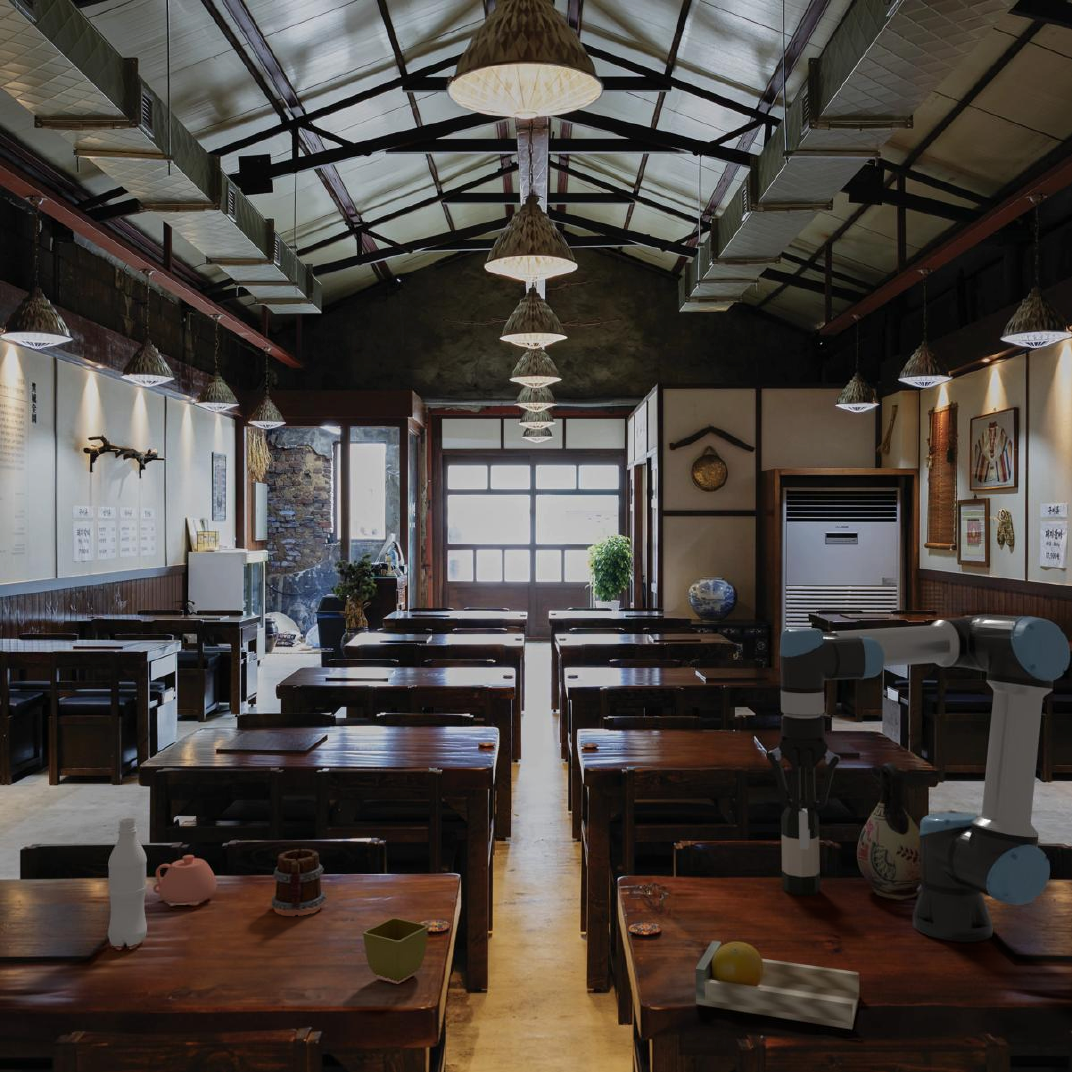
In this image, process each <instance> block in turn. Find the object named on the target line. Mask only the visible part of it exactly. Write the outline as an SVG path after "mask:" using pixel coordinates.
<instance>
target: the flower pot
mask: <svg viewBox="0 0 1072 1072" xmlns="http://www.w3.org/2000/svg"><path fill="white" fill-rule="evenodd" d="M428 934H429V925H426V924H424V923H423V924H422V923H419V922H415V921H410V920H406V919H401V918H398V917H391V918H389V919H387V920H386V921H383V922H382V923H379V924H377V925H376V926H373V927H372V928H369V929H366V930H364V931H363V932H362V936H363V942H364V943H363V944H364V949H365V956H366V960H367V963H368V966H369V969H370V970H371V972H372V973H373V975H374V974H376V975H380V976H383V977H385V978H389V979H391V980H394V981H397V982H399V981H401V980H403V979H404V978H406V977H407V976H409V975H411V974H413V973H415V972H417V973H418V971H419V970H420V967H421V966H422V964H423V961H424V959H425V956H426V951H427V945H428V936H429V935H428Z"/></svg>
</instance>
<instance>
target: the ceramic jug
mask: <svg viewBox="0 0 1072 1072" xmlns="http://www.w3.org/2000/svg"><path fill="white" fill-rule="evenodd" d="M871 775H872V777H874V778H875V779H876V780H878V781H879V784H880V788H881V791H880V799H879V802H878V803H877V805H876V806H875V808H874V810H873V811H872V812H871V813H870V816H869V818H868V819H867V821H866V823H865V824H864V826H863V828H862V830H861V832H860V835H859V840H858V842H857V843H858V844H857V850H856V859H857V864H858V867H859V871H860V873H861V874H862V875H863V876H864V878H865V879H866V881H868V883H869V885H870V886H871V888H872V889H873V892H874V893H875V894H876V895H877V896H880V897H883V898H887V899H893V900H899V901H901V900H907V899H911V898H914V897H916V896H918V889H919V887H921V863H920V837H919V834H920V828H918V827H917V825H916V824H915V822H914V821H913V819H912V817H911V816H910V815H909V814H908V812H907V810H906V809H905V808H904V807H903V798H902V797H903V784H902V783H903V782H902V775H901V772H900V770H899V768H898V767H897V766H896V765H895V764H894V763H891V762H886V763H884V764H882V765H881V768H880V767H879V766H878V765H874V766H873V767H872V768H871Z"/></svg>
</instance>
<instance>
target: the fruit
mask: <svg viewBox="0 0 1072 1072" xmlns="http://www.w3.org/2000/svg"><path fill="white" fill-rule="evenodd" d="M762 959H763V958H762V956H761V954H760V953H759V952H758V951H757V949H756V948H755V947H754V946H753V945H751V944H749V943H746V942H744V941H743V942H742V941H730V942H727V943H725V944H723V945H721V947H720V948H719V949H718V950H717V951H716V953H715V954H714V957H713V960H712V972H713V976H714V978H715V980H716V981H723V982H729V983H736V984H742V985H749V986H755V987H757V986H758V985H759V983H760V981H761V978H762V975H763V961H762Z"/></svg>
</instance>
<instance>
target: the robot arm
mask: <svg viewBox="0 0 1072 1072" xmlns="http://www.w3.org/2000/svg"><path fill="white" fill-rule="evenodd" d="M779 642H780V643H779V661H780V663H779V664H780V665H779V667H780V668H779V669H780V711H781V713H783V714H782V716H780V717H781V718H780V721H781V723H780V726H781V732H780V733H781V738H780V741H779V742H778V747H777V748H775V749H773V750H772V749H771V750H769V751H768V753H766V758H767V760H768V761H769V763H770V764H771V766H772V769H773V773H774V778H775V782H776V784H777V785H776V786H777V789H778V793H779V796H780V800H781V804H782V806H783V807H785V808H786V807H789V808H791V809H792V811H793V827H794V828H797V829H799V849H807V850H808V849H809V846H810V830H814V828H815V826H816V814H817V811H820V810H824V809H825V807H826V805H827V801H828V797H829V794H830V789H831V785H832V780H833V776H834V773H835V772H834V771H835V768H836V767H837V765H839V762H840V761H841V756H840V754H836V753H834V752H832V751H831V750H829V747H828V744H827V742H826V739H825V737H826V735H825V726H826V725H825V724H826V723H825V717H824V716H823V714H824V713H825V691H824V690H825V681H831V680H833V681H835V680H856V679H857V680H864V679H867V678H868V679H870V678H875V677H877V676H878V675H880V674H881V672H882V670H883V668H884V667H891V666H906V665H908V666H909V665H921V664H936V665H938V666H939V667H942V668H949V667H950V668H951V667H955V668H956V667H959V668H967V669H971V670H972V669H973V670H977V671H983V672H987V673H986V683H987V684H988V685H989V687H991V689H992V691H993V698H992V707H991V708H992V709H991V716H990V727H989V737H988V747H987V748H988V749H987V759H986V767H985V778H984V786H983V787H984V788H983V798H982V807H981V813H980V815H979V816H978V815H975V814H969V813H959V812H958V813H957V812H956V813H955V812H954V813H950V812H947V813H934V814H928V815H926V816H924V817H923V818H921V820H920V823H919V825H920V826H919V827H920V828H919V831H920V834H919V837H920V863H921V885H920V890H919V891H918V892H919V893H918V894H917V899H916V902H915V905H914V908H913V911H912V926H913V928H914V929H915V930H917V931H918V932H919V933H921V934H924V935H926V936H928V937H931V938H935V939H938V940H943V941H949V942H956V943H978V942H982V941H986V940H989V939H991V938H992V936H993V935H994V934H993V933H994V929H993V926H994V925H993V923H994V922H993V920H992V917H991V914H990V912H989V908H988V905H987V902H986V900H985V898H984V895H987V896H988V897H991V898H992V899H993V900H996V901H999V902H1004V903H1006V904H1010V905H1013V906H1022V905H1026V904H1029V903H1031V902H1033V901H1035V900H1036V898H1037V896H1040V895H1042V893H1043V891H1044V890H1045V888H1046V887H1047V885H1048V882H1049V879H1050V873H1051V867H1050V865H1051V864H1050V861H1049V859H1048V858H1047V855H1046V853H1045V852H1044V851H1043V850H1042V849H1041V848H1040V847H1038V846H1039V845H1038V844H1039V836H1040V835H1039V832H1038V830H1036V829H1035V828H1034V826H1033V825H1032V813H1033V802H1034V792H1035V783H1036V771H1037V761H1038V751H1039V741H1040V740H1039V738H1040V731H1041V730H1040V729H1041V719H1042V708H1043V699H1044V697H1045V696H1047V695H1048V694H1050V693H1051V692H1053V686H1054V680H1057V679H1059V678H1061V677H1062V676H1063V675H1064V672H1065V671H1067V670H1068V667H1069V665H1070V661H1071V650H1070V649H1071V648H1070V644H1069V642H1068V637H1066V635H1065V633H1063V631H1062V630H1061V628H1060V627H1059V626H1058V624H1056V623H1055V622H1052V620H1051V621H1050V620H1048V619H1046V618H1040V617H1035V616H1031V615H1030V616H1025V615H1024V616H1023V615H1021V616H1020V615H1005V614H1004V615H1003V614H1001V615H1000V614H994V613H992V614H991V613H990V614H988V613H987V614H986V613H985V614H977V615H970V616H963V617H956V618H949V619H938V620H935V621H933V622H932V623H931V624H930V625H920V626H902V627H886V628H885V627H884V628H867V629H853V630H851V629H850V630H838V631H837V630H835V631H822V629H820V628H816V627H815V628H812V627H792V628H791V627H790V628H789V627H788V628H785V629H783V630H782V632H781V633H780V640H779ZM782 756H783V757H784V758H785V759H786V761H787V762H788V763H789V765H791V766H790V767H791V768H790V770H791V771H790V772H791V796H790V792H789V788H788V784H787V780H786V776H785V772H784V769H783V764H782V761H781V759H782ZM824 757H825V763H826V764H827V766H826V769H825V772H824V777H823V781H822V785H821V790H820V793H819V797H818V801H817V796H816V793H817V792H816V791H817V790H816V788H817V787H816V767H817V766H818V764H819V763H820V762H821V761H822V759H823V758H824ZM801 767H806V774H807V809H802V808H801ZM992 934H993V935H992Z"/></svg>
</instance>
